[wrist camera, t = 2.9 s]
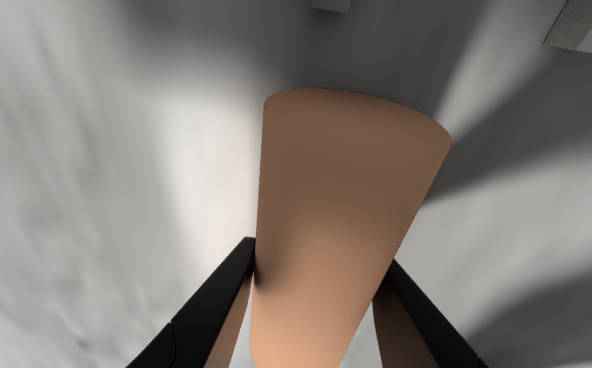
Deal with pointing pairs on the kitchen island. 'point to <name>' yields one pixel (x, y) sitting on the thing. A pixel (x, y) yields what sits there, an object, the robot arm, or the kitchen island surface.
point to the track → (565, 34)
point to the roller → (332, 216)
